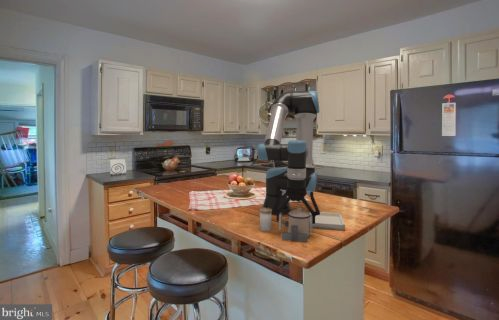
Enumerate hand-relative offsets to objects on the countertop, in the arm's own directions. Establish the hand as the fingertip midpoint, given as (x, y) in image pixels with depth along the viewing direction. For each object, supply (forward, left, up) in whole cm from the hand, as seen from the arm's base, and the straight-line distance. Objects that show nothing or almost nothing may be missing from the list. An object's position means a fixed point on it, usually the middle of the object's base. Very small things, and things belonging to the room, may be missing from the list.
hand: (295, 229), depth 116 cm
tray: (+13, +18, -2) cm, 22 cm away
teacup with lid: (0, 0, -2) cm, 2 cm away
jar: (-13, +3, -2) cm, 13 cm away
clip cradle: (0, 0, -2) cm, 2 cm away
